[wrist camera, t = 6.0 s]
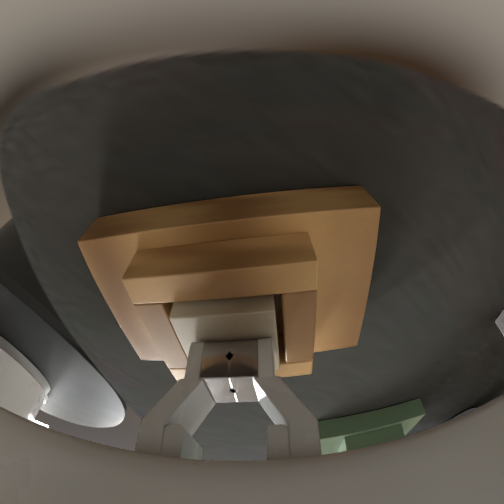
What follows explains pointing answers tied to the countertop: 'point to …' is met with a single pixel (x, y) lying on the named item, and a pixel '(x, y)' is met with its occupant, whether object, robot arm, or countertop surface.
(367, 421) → the key block
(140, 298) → the key block
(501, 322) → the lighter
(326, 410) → the countertop surface
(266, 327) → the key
